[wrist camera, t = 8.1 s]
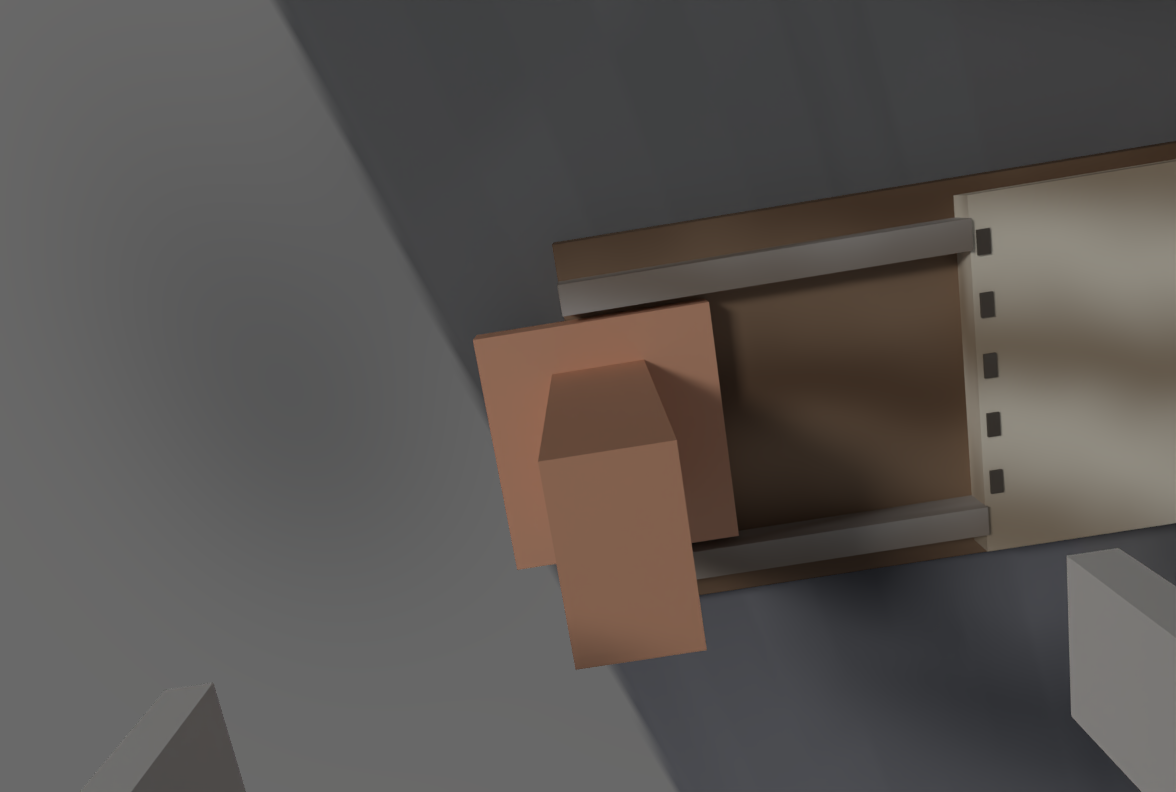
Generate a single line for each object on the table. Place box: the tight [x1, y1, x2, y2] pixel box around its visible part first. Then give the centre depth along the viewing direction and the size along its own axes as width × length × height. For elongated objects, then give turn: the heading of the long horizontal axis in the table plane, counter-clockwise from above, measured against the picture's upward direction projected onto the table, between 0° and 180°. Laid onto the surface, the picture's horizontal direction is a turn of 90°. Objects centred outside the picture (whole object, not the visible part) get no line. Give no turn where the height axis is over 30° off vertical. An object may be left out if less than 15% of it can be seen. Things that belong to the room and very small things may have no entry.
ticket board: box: [552, 141, 1176, 595], centre depth 29 cm, size 13×28×3 cm, turn 99°
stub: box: [473, 299, 739, 669], centre depth 24 cm, size 8×8×10 cm
